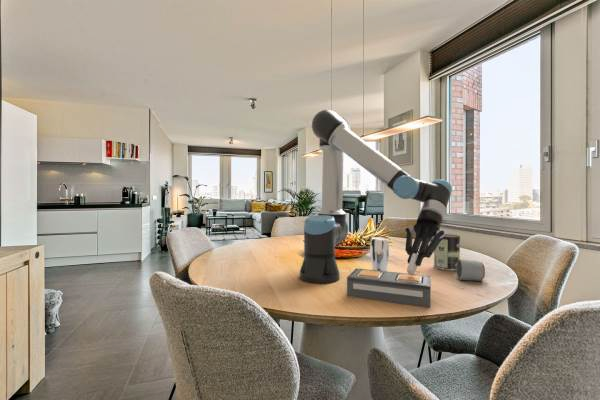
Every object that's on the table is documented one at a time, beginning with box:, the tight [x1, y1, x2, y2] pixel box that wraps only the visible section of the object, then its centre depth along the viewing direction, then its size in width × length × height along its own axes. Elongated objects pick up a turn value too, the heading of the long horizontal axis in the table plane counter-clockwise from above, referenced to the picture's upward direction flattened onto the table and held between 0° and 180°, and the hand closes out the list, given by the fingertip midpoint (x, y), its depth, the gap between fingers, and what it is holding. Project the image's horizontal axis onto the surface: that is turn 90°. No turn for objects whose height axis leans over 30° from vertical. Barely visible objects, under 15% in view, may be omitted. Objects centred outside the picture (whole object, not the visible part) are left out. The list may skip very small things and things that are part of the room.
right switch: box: [396, 273, 422, 283], centre depth 94 cm, size 7×7×4 cm
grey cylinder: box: [455, 258, 486, 282], centre depth 115 cm, size 11×8×8 cm
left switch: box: [357, 269, 383, 279], centre depth 99 cm, size 7×7×4 cm
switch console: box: [346, 268, 432, 308], centre depth 96 cm, size 24×12×6 cm, turn 66°
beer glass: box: [369, 237, 390, 272], centre depth 116 cm, size 7×7×15 cm
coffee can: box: [433, 233, 461, 272], centre depth 132 cm, size 10×10×14 cm
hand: (410, 273), depth 94 cm, fingers closed
